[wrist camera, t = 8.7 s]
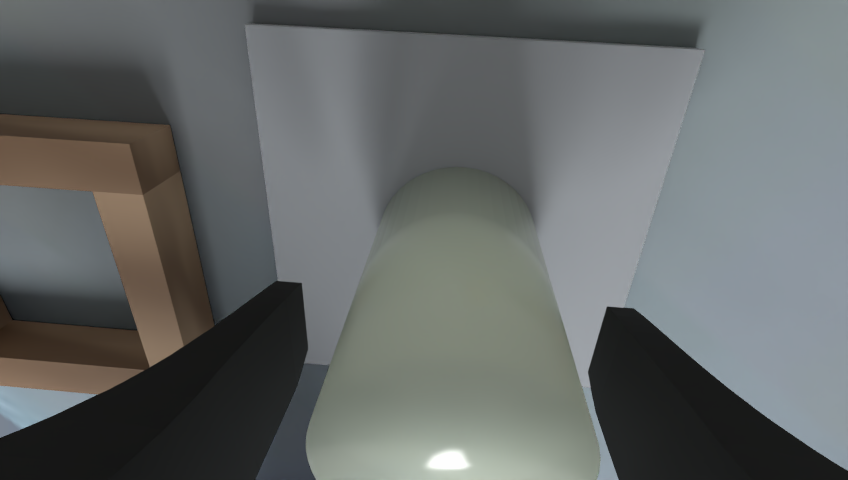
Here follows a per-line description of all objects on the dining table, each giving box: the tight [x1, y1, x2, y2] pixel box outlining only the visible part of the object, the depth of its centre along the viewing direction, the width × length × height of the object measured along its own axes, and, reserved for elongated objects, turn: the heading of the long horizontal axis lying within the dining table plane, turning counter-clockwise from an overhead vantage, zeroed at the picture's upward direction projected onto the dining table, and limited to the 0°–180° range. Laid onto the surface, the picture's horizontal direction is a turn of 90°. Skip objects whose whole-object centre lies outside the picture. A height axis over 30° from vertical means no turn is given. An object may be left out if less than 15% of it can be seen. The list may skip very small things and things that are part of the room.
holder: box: [0, 114, 215, 394], centre depth 16 cm, size 10×10×2 cm
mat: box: [245, 23, 705, 388], centre depth 15 cm, size 12×12×1 cm
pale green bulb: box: [306, 167, 600, 480], centre depth 11 cm, size 5×5×8 cm
